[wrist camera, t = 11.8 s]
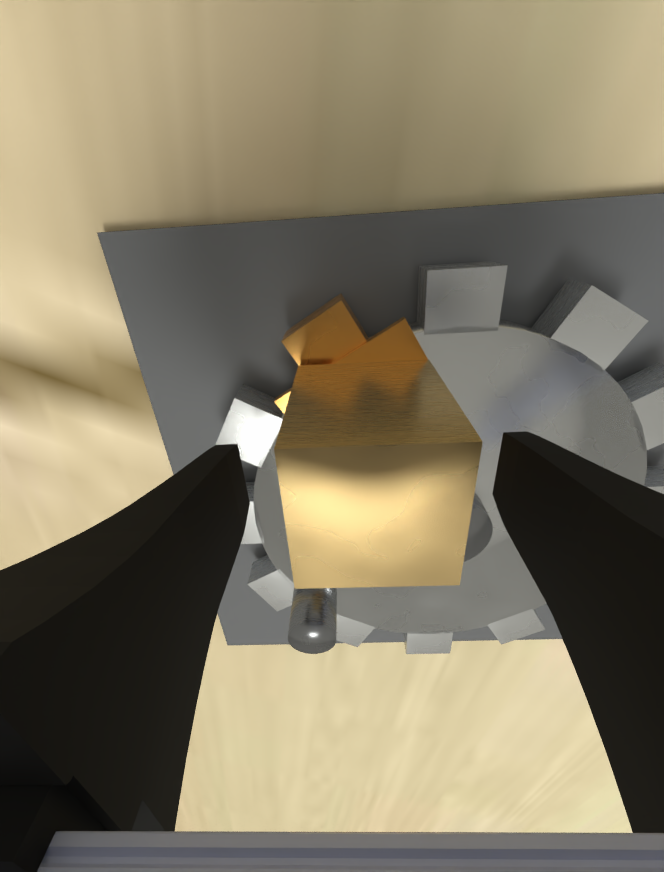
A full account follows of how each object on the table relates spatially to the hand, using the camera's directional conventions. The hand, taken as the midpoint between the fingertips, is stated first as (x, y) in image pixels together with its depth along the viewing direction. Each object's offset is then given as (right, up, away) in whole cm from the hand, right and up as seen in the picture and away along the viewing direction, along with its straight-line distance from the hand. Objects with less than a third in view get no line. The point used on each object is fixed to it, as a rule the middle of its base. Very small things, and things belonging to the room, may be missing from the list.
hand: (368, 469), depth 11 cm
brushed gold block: (0, +1, +2) cm, 3 cm away
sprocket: (+3, -1, +6) cm, 7 cm away
